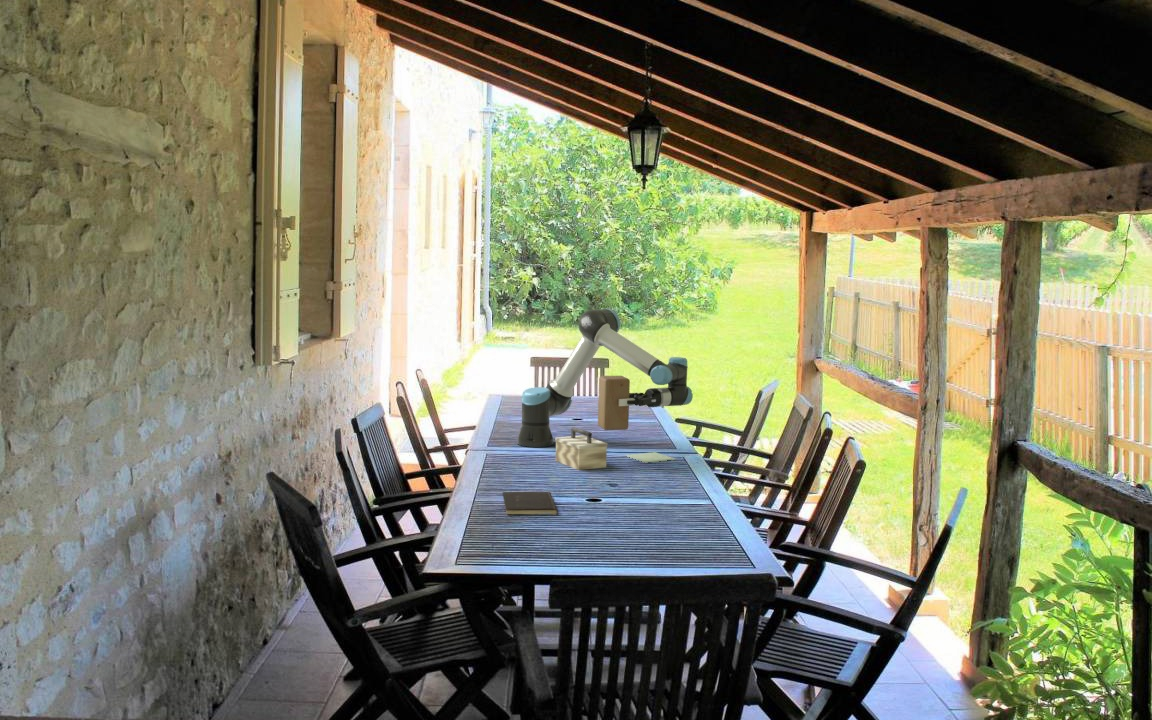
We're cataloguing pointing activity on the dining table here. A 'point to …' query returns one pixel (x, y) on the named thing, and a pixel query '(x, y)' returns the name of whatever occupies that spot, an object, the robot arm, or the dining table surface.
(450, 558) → the dining table surface
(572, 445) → the toolbox
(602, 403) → the wooden block
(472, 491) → the dining table surface
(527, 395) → the robot arm
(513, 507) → the hardcover book
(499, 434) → the dining table surface
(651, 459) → the mat
